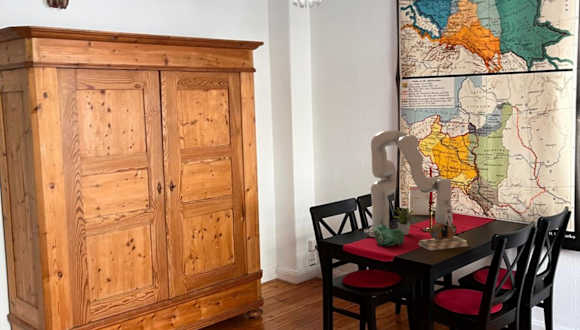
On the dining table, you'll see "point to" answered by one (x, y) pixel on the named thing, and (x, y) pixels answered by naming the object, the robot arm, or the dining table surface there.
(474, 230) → the dining table surface
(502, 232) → the dining table surface
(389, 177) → the robot arm
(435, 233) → the tin
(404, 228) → the house plant
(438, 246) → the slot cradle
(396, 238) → the mineral
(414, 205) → the coffeecake box
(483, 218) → the dining table surface
